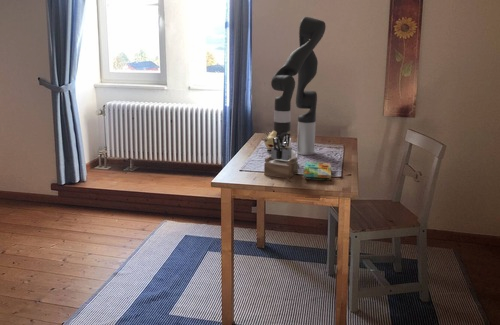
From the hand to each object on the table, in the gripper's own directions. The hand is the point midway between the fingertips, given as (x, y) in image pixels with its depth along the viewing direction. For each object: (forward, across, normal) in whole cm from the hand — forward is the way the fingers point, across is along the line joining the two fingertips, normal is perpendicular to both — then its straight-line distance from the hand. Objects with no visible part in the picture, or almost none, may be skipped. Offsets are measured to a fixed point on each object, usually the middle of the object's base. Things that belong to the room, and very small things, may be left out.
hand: (281, 157), depth 217 cm
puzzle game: (+8, +5, -16) cm, 19 cm away
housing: (+1, 0, 0) cm, 1 cm away
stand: (+8, 0, 0) cm, 8 cm away
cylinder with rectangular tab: (+8, +17, +5) cm, 19 cm away
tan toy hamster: (+8, +39, +23) cm, 46 cm away
